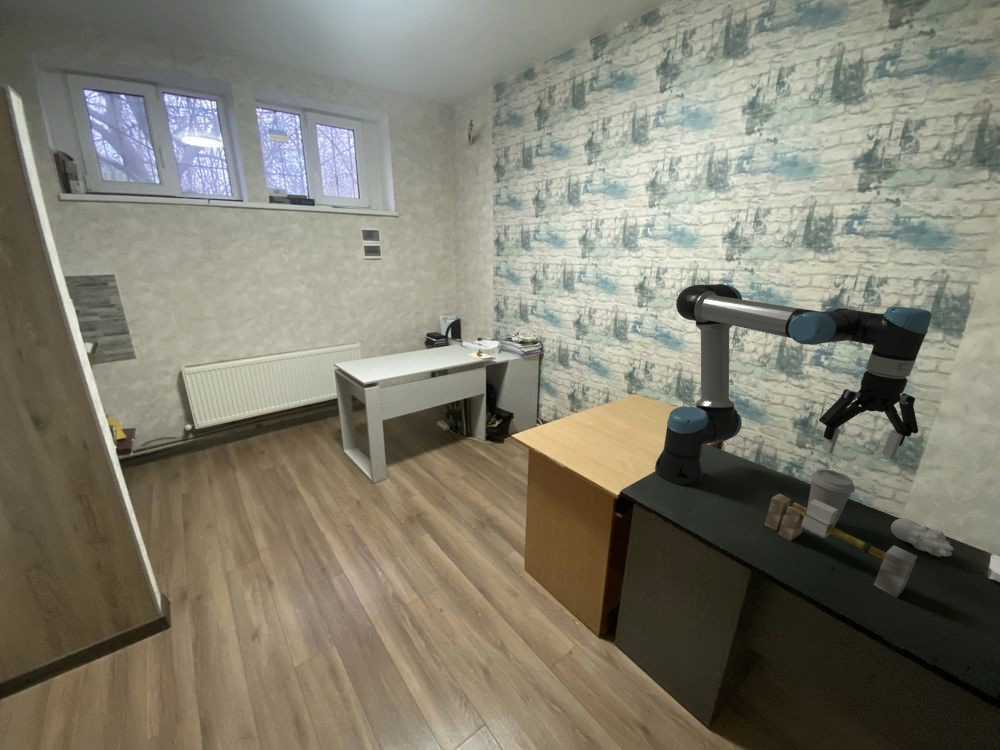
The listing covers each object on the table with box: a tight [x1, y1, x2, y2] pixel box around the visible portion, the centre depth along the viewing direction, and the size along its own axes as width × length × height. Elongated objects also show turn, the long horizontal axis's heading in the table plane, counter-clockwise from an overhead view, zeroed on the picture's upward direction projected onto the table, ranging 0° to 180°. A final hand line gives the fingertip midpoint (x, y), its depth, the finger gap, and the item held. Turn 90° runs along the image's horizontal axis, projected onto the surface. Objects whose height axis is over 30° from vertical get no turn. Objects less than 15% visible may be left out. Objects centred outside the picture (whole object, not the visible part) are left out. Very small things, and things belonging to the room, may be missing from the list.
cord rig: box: [764, 493, 918, 599], centre depth 98 cm, size 28×6×10 cm, turn 30°
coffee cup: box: [806, 468, 856, 528], centre depth 109 cm, size 10×10×15 cm
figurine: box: [890, 518, 955, 558], centre depth 102 cm, size 7×7×12 cm
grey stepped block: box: [801, 499, 838, 539], centre depth 100 cm, size 5×4×7 cm
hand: (856, 453), depth 98 cm, fingers open, 13 cm apart
